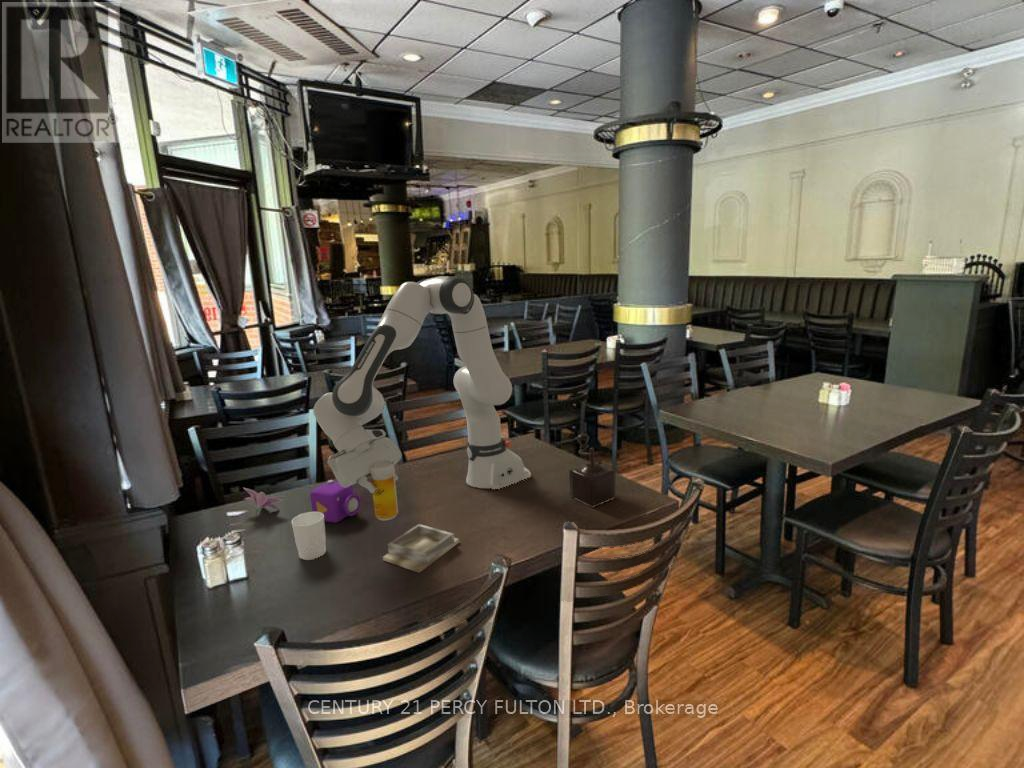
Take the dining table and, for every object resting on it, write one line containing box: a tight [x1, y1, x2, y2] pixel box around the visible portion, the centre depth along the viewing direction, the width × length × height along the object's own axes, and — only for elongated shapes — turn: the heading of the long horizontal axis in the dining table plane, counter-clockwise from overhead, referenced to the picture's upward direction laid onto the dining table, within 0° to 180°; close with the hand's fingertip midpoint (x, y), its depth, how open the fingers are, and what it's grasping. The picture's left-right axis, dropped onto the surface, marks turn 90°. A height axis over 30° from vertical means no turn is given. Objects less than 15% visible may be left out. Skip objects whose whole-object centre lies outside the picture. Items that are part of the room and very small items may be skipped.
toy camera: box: [309, 479, 361, 524], centre depth 156 cm, size 11×14×10 cm
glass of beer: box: [370, 460, 399, 522], centre depth 139 cm, size 6×6×15 cm
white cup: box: [290, 511, 327, 561], centre depth 136 cm, size 8×8×10 cm
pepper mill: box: [568, 433, 617, 506], centre depth 163 cm, size 16×11×18 cm
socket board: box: [382, 523, 460, 574], centre depth 136 cm, size 12×16×4 cm
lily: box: [243, 487, 284, 522], centre depth 159 cm, size 12×12×10 cm
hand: (385, 485), depth 138 cm, fingers closed on glass of beer, 6 cm apart
